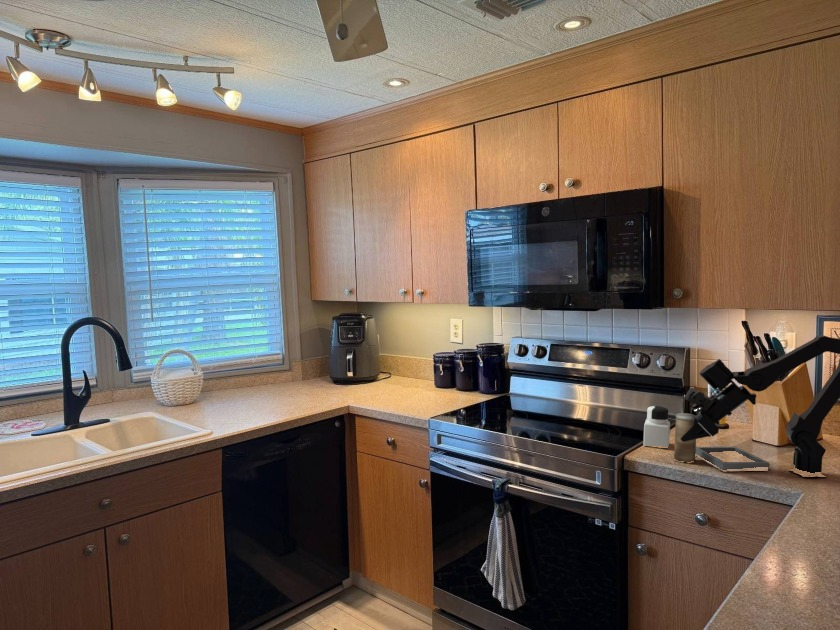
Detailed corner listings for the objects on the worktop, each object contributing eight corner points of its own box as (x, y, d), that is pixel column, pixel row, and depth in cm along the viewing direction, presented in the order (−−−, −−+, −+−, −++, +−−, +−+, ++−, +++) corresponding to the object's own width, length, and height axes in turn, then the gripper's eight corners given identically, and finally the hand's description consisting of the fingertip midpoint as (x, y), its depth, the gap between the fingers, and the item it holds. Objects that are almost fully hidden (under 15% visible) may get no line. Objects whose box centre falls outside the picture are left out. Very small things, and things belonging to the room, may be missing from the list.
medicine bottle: (669, 443, 186) (670, 406, 186) (668, 449, 180) (670, 410, 179) (645, 440, 189) (646, 403, 189) (643, 446, 183) (644, 408, 182)
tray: (768, 471, 161) (769, 462, 161) (722, 472, 160) (723, 463, 160) (735, 454, 176) (735, 446, 176) (693, 455, 175) (693, 446, 175)
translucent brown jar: (698, 463, 167) (701, 417, 166) (680, 463, 167) (682, 418, 166) (688, 457, 173) (690, 413, 172) (670, 457, 172) (672, 413, 171)
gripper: (702, 374, 175) (660, 407, 180) (707, 385, 158) (660, 421, 163) (730, 403, 173) (687, 436, 178) (738, 417, 156) (690, 453, 160)
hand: (681, 436), depth 170 cm, fingers open, 9 cm apart
